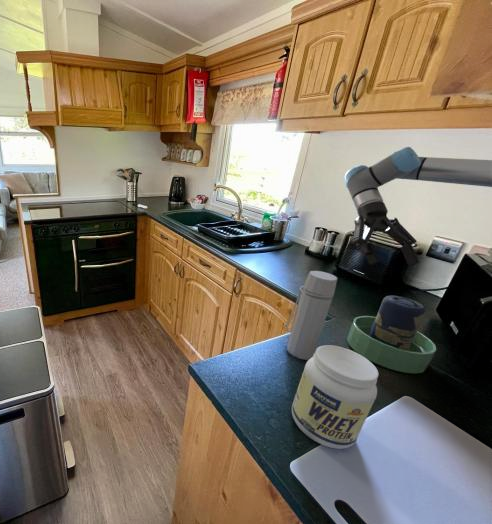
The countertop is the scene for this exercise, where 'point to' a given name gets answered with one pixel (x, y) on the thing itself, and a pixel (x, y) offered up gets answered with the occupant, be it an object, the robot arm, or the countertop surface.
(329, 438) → the supplement tub
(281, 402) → the countertop surface
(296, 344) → the water bottle
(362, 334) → the green pet bowl
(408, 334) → the canister
